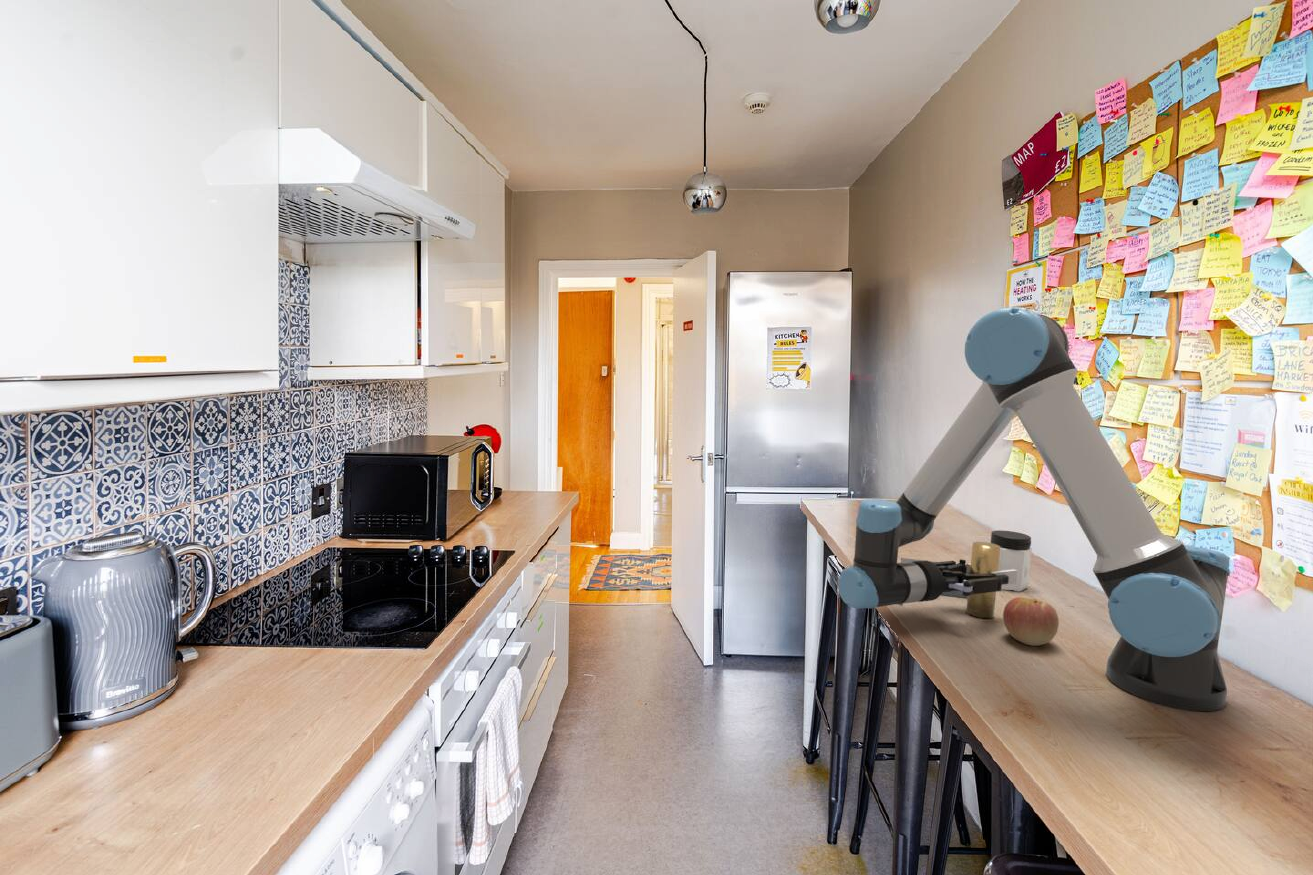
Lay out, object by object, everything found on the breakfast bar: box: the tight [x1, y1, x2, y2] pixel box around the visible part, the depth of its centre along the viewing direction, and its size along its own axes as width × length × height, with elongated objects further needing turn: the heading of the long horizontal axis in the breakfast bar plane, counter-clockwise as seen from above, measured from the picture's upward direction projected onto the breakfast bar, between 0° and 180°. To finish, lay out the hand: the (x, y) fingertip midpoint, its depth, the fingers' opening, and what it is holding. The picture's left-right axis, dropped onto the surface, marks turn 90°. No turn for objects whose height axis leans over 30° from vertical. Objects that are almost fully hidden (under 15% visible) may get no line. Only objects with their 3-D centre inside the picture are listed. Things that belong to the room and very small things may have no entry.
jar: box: [990, 529, 1032, 592], centre depth 156 cm, size 9×8×12 cm
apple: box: [1002, 596, 1060, 647], centre depth 123 cm, size 9×9×8 cm
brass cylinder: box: [965, 541, 1001, 619], centre depth 136 cm, size 5×5×14 cm
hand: (1002, 572), depth 138 cm, fingers closed on brass cylinder, 5 cm apart
